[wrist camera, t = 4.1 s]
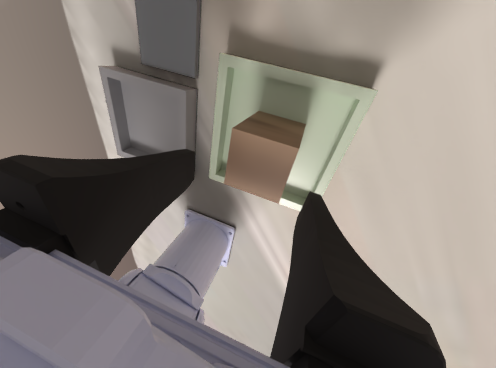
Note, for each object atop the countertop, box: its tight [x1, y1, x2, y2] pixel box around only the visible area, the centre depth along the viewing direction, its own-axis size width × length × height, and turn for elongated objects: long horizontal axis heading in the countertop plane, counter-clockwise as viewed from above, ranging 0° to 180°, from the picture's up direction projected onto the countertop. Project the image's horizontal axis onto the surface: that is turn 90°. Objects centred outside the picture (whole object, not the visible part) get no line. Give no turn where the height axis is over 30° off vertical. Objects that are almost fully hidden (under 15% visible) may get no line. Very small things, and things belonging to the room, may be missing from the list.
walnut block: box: [224, 111, 306, 204], centre depth 16 cm, size 4×4×6 cm
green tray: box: [209, 53, 378, 211], centre depth 18 cm, size 12×12×2 cm
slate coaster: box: [135, 0, 201, 78], centre depth 17 cm, size 6×6×1 cm
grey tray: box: [99, 66, 198, 158], centre depth 22 cm, size 10×10×2 cm
